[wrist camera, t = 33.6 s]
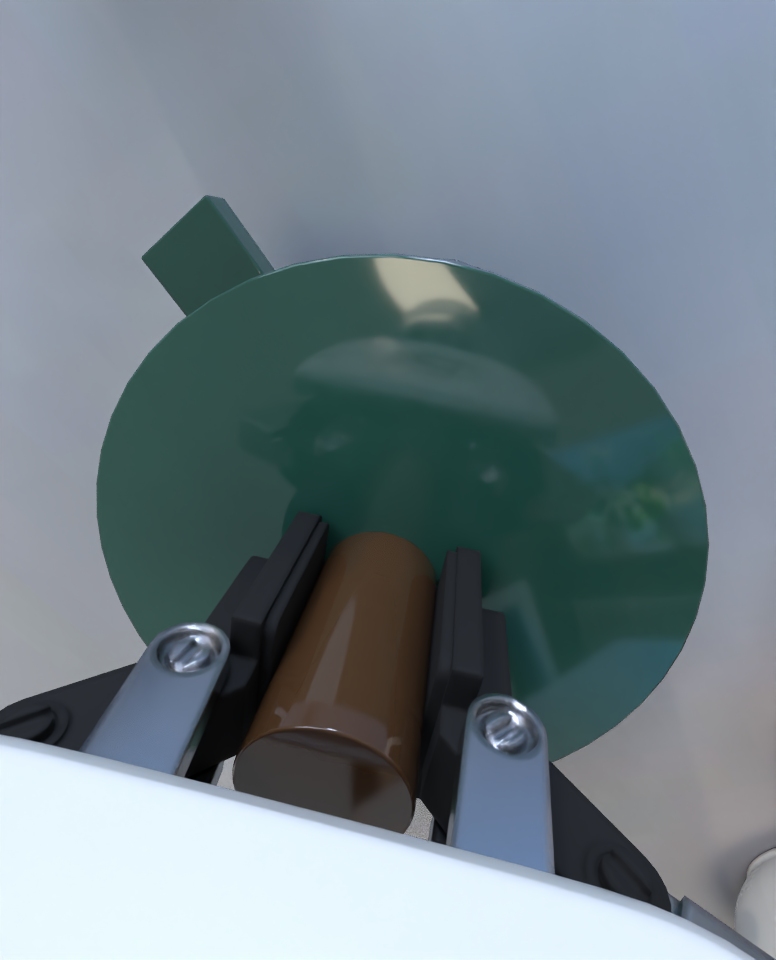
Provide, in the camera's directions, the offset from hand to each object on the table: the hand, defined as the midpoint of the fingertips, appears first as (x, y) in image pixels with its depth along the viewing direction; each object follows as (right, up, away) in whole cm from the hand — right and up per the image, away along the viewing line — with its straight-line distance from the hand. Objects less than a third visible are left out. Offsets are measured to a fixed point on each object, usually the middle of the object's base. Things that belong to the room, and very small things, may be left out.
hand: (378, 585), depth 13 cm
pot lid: (0, 0, +1) cm, 1 cm away
